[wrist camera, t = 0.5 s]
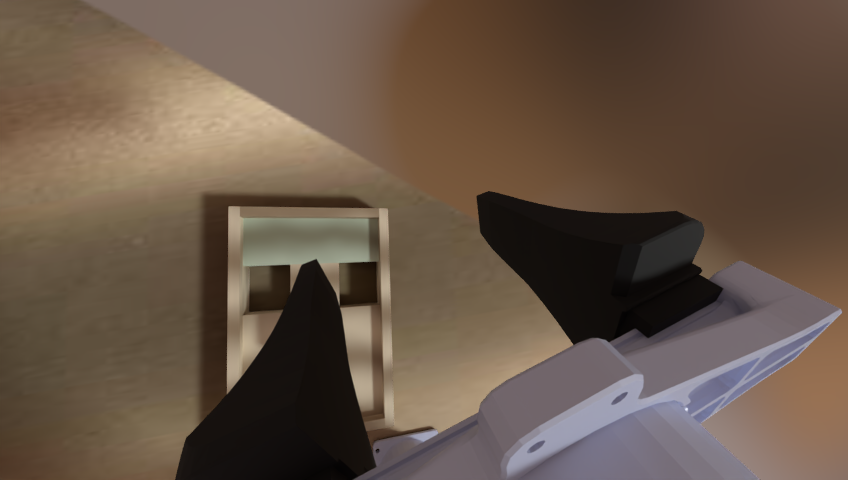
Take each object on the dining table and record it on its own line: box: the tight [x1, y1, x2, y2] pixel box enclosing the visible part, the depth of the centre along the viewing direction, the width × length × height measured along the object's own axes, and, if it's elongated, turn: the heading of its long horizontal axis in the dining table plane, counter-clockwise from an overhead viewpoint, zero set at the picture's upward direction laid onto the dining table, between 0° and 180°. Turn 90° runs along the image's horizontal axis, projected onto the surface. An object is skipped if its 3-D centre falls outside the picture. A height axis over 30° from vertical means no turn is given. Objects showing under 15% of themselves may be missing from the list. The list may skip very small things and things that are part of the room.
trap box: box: [227, 206, 394, 432], centre depth 33 cm, size 24×16×4 cm, turn 2°
